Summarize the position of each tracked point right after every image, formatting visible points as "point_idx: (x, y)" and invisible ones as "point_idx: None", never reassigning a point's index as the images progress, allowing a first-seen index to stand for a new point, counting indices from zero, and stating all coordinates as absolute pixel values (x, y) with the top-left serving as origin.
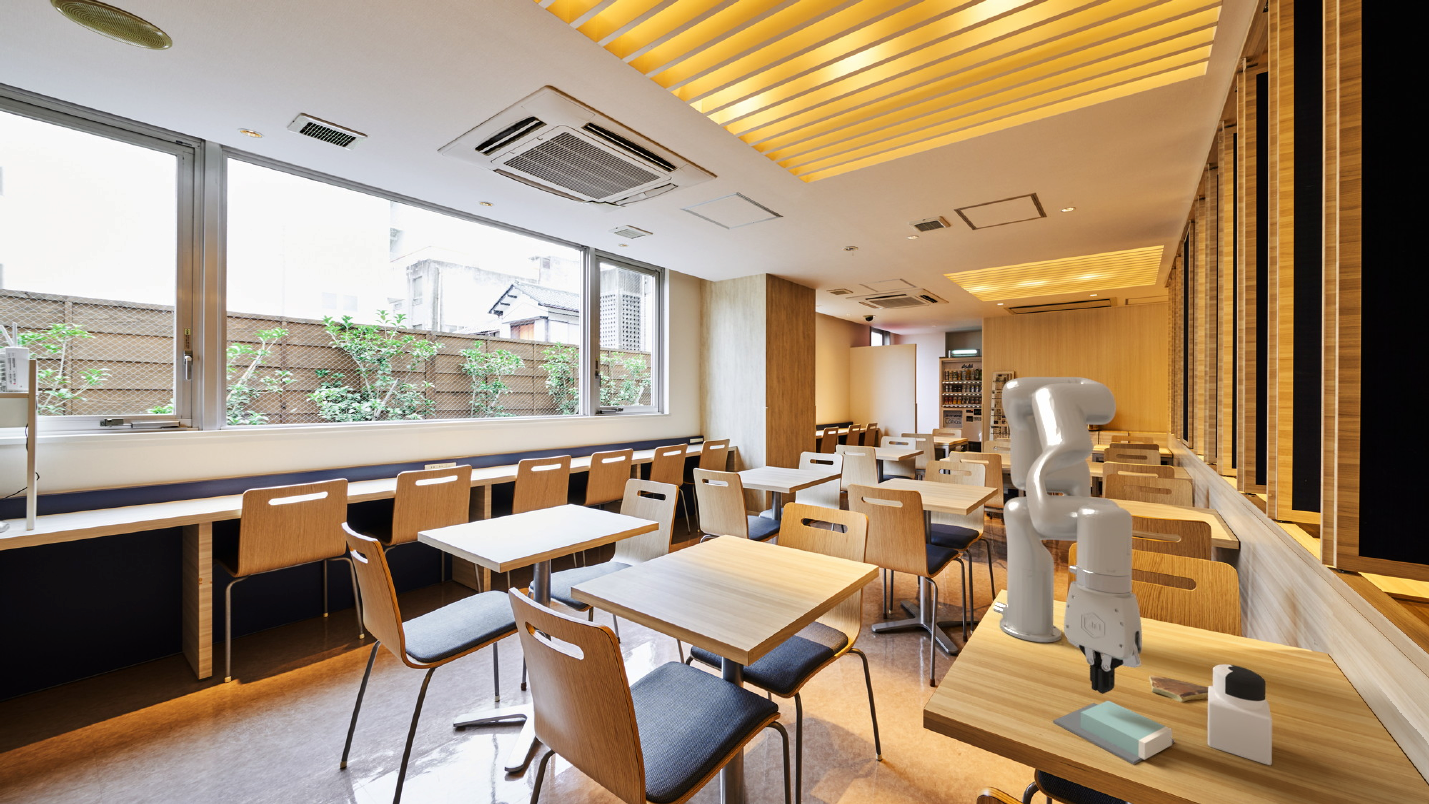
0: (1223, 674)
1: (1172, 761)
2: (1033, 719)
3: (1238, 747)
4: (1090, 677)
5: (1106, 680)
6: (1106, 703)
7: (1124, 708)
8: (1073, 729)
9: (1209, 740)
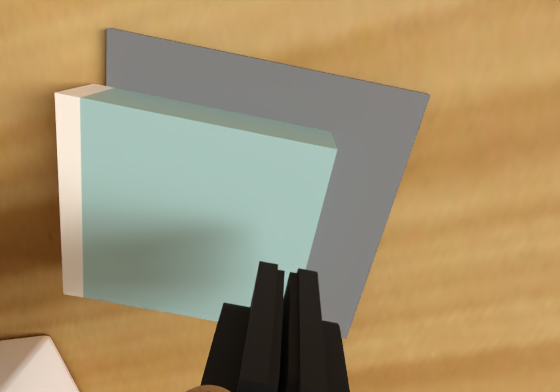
0: None
1: None
2: (502, 49)
3: None
4: (337, 336)
5: (232, 337)
6: None
7: None
8: (346, 86)
9: (35, 348)
